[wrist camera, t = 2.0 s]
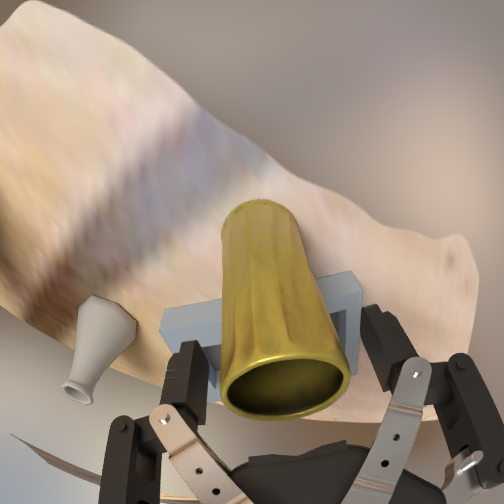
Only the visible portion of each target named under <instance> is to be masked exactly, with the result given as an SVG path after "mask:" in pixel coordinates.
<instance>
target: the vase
mask: <svg viewBox="0 0 504 504" xmlns="http://www.w3.org/2000/svg"><path fill="white" fill-rule="evenodd" d="M221 240H222V246H223V251H222V268H223V288H222V342H221V363H220V378H219V386H220V396H221V399H222V402H223V403H224V405H225V406H226V407H227V408H228V409H229V410H231V411H232V412H234V413H236V414H237V415H239V416H242V417H245V418H248V419H253V420H260V421H285V420H293V419H298V418H302V417H305V416H308V415H311V414H313V413H316V412H318V411H321V410H323V409H325V408H327V407H329V406H330V405H332V404H333V403H334V402H336V401H337V400H338V399H339V398H340V397H341V396H342V395H343V394H344V393H345V391H346V390H347V387H348V385H349V382H350V377H351V372H350V366H349V363H348V360H347V357H346V355H345V352H344V350H343V347H342V345H341V342H340V340H339V337H338V334H337V332H336V329H335V327H334V325H333V322H332V320H331V317H330V314H329V312H328V309H327V306H326V304H325V302H324V299H323V297H322V294H321V292H320V289H319V287H318V284H317V282H316V280H315V278H314V276H313V274H312V271H311V269H310V266H309V263H308V260H307V257H306V253H305V250H304V246H303V243H302V239H301V236H300V233H299V230H298V225H297V223H296V220H295V218H294V217H293V215H292V214H291V212H290V211H289V210H288V209H287V208H285V207H284V206H282V205H280V204H278V203H276V202H273V201H270V200H252V201H248V202H245V203H243V204H241V205H239V206H238V207H237V208H235V209H234V210H233V211H232V212H231V213H230V214H229V215H228V216H227V218H226V220H225V222H224V224H223V228H222V234H221Z"/></svg>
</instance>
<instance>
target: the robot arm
mask: <svg viewBox="0 0 504 504" xmlns="http://www.w3.org/2000/svg"><path fill="white" fill-rule="evenodd" d="M360 335H361V339H362V342H363V344H364V346H365V349H366V351H367V353H368V356H369V358H370V360H371V363H372V365H373V368H374V370H375V373H376V375H377V377H378V380H379V382H380V385H381V387H382V390H383V392H386V391H389V390H390V391H391V393H392V398H391V400H390V403H389V406H388V408H387V411H386V413H385V416H384V418H383V421H382V423H381V426H380V428H379V430H378V432H377V435H376V437H375V439H374V441H373V443H372V445H371V447H370V448H368V447H364V446H360V445H352V444H350V445H347V443H346V440H343V441H339V442H335V443H331V444H327V445H323V446H320V447H318V448H316V449H314V450H311V451H309V452H307V453H305V454H302V455H299V456H287V455H275V454H271V455H262V456H251V457H249V462H246V463H244V464H242V465H240V466H238V467H236V468H235V469H233V470H232V471H231V470H230V469H229V468H228V466H227V465H226V464H225V463H223V461H221V459H220V458H219V457H218V456H217V455H216V454H215V453H214V452H213V450H212V449H211V448H210V447H209V446H208V445H207V443H206V442H205V441H204V440H203V438H202V437H201V436H200V435H199V433H198V432H197V429H198V425H205V421H206V405H207V393H208V380H209V363H208V359H207V357H206V355H205V353H204V351H203V350H202V348H201V346H200V344H199V342H198V341H197V340H192V341H184V342H182V343H181V346H180V351H179V352H178V353H174V354H173V355H172V357H171V358H170V360H169V362H168V366H167V372H166V376H165V377H166V378H165V380H164V385H163V390H162V395H161V400H160V404H159V406H157V407H156V408H154V409H153V410H152V412H151V413H150V415H149V416H146V417H143V418H139V419H136V420H133V419H131V418H130V417H128V416H125V415H123V416H119V417H117V418H116V419H114V420H113V422H112V423H111V426H110V430H109V436H108V441H107V446H106V452H105V458H104V464H103V470H102V477H101V485H100V493H99V503H98V504H160V479H161V461H162V453H165V452H168V453H169V455H170V456H169V460H170V461H171V463H172V464H173V466H174V467H175V469H176V470H177V472H178V473H179V474H180V476H181V477H182V479H183V480H184V481H185V483H186V484H187V485H188V487H189V488H190V489H191V491H192V492H193V493H194V494H195V496H196V497H197V498H198V499H199V501H200V502H201V503H202V504H462V503H464V502H465V501H467V500H469V499H471V498H472V497H474V496H476V495H478V494H481V493H483V492H485V491H487V490H490V489H492V488H494V487H496V486H498V485H500V484H502V483H504V424H503V422H502V420H501V417H500V415H499V412H498V410H497V408H496V406H495V404H494V401H493V399H492V397H491V395H490V393H489V391H488V389H487V387H486V385H485V383H484V381H483V379H482V377H481V375H480V373H479V371H478V369H477V367H476V366H475V364H474V362H473V360H472V359H471V357H470V356H468V355H467V354H464V353H456V354H454V355H452V356H451V357H450V359H449V361H448V362H438V363H430V362H428V361H427V360H426V359H424V358H422V357H419V355H418V354H417V352H416V350H415V349H414V347H413V345H412V343H411V342H410V340H409V338H408V336H407V335H406V333H405V332H404V330H403V328H402V326H401V325H400V323H399V321H398V320H397V318H396V317H395V316H394V315H392V314H391V313H390V312H388V311H387V312H384V313H382V312H381V310H380V308H379V306H378V305H377V304H373V305H369V306H366V307H362V308H361V318H360ZM432 404H433V406H434V408H435V411H436V414H437V416H438V419H439V422H440V425H441V428H442V430H443V433H444V436H445V439H446V442H447V446H448V449H449V452H450V455H451V460H450V461H449V462H448V464H447V465H446V468H445V481H444V484H443V486H442V487H441V489H440V488H439V487H437V486H435V485H433V484H431V483H430V482H427V481H426V480H424V479H422V478H420V477H418V476H416V475H415V474H413V473H411V472H409V471H407V470H406V469H404V466H405V463H406V461H407V459H408V456H409V453H410V451H411V448H412V445H413V443H414V440H415V437H416V434H417V431H418V428H419V425H420V422H421V419H422V415H423V412H422V408H423V405H432Z"/></svg>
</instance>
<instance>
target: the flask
mask: <svg viewBox="0 0 504 504" xmlns="http://www.w3.org/2000/svg"><path fill="white" fill-rule="evenodd" d="M136 322H137V321H135V320H134V319H133V318H132V317H131V316H130V315H129V314H128V313H126V312H125V311H124V310H123V309H122V308H121V307H120V306H119V305H118V304H117V303H114V302H111V301H108V300H105V299H101V298H98V297H95V296H93V295H91V296H90V297H89V298H88V299H87V300H86V301H85V302H84V303H83V304H81V305H80V306H79V312H78V321H77V333H76V342H75V354H74V359H73V363H72V368H71V372H70V374H69V377H68V379H67V381H65V382H64V383H63V384H62V385H61V388H62V390H63V392H64V394H66V395H67V396H69V397H70V398H71V399H73V400H74V401H76V402H79V403H82V404H84V405H90V404H92V403H93V397H92V393H93V391H94V388H95V385H96V383H97V382H98V380H99V379H100V377H101V375H102V374H103V372H104V371H105V370H106V369H107V368H108V367H109V366H110V364H111V363H112V362H113V361H114V360H115V359H116V358H117V357H118V356H119V355H120V354H121V353H122V352H123V351H124V350H125V349H126V348H127V347H128V346H129V345H130V344H131V343H132V342H133V341H134V340H135V339H136Z"/></svg>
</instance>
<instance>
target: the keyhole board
mask: <svg viewBox="0 0 504 504" xmlns="http://www.w3.org/2000/svg"><path fill="white" fill-rule="evenodd" d="M315 280H316V282H317V284H318V287H319V289H320V292H321V294H322V297H323V299H324V302H325V304H326V306H327V309H328V312H329V314H330V317H331V320H332V322H333V325H334V327H335V329H336V332H337V334H338V337H339V340H340V342H341V345H342V347H343V350H344V352H345V355H346V357H347V360H348V363H349V366H350V372H351V376H352V375H355V374H356V370H357V362H358V352H359V342H360V318H361V308H362V295H363V290H362V288H361V286H360V285H359V283H358V281H357V280H356V278H355V276H354V275H353V273H352V272H351V271H347V272H343V273H339V274H335V275H331V276H327V277H322V278H318V279H315ZM159 332H160V334H161V336H162V337H163V339H164V341H165V342H166V344H167V345H168V347H169V349H170V350H171V352H172V353H173V354H174V353H178V352H179V351H180V346H181V343H182V342H184V341H192V340H197V341H198V342H199V344H200V346H201V348H202V350H203V351H204V353H205V355H206V357H207V359H208V363H209V380H208V393H207V402H216V401H222V399H221V396H220V386H219V378H220V363H221V342H222V299H219V300H214V301H209V302H204V303H198V304H193V305H187V306H181V307H176V308H170V309H165V311H164V314H163V318H162V321H161V325H160V328H159Z"/></svg>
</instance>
